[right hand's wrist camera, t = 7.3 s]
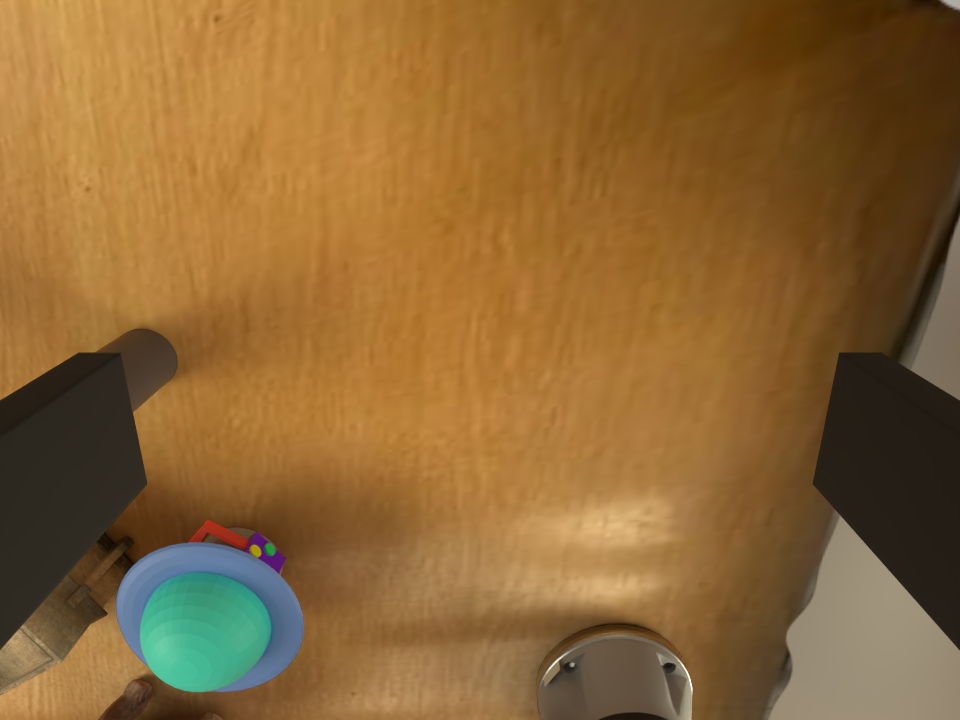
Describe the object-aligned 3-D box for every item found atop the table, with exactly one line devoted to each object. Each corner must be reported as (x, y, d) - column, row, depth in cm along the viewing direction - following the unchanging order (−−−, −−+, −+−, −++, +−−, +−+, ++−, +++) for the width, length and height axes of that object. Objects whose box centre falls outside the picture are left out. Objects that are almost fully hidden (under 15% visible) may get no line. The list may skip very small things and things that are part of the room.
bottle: (105, 334, 55) (-108, 464, 35) (164, 323, 54) (-17, 447, 35) (128, 391, 57) (-62, 544, 37) (186, 380, 56) (25, 529, 36)
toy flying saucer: (130, 540, 62) (35, 658, 48) (246, 451, 58) (177, 551, 45) (246, 641, 66) (188, 774, 53) (360, 563, 63) (328, 685, 49)
